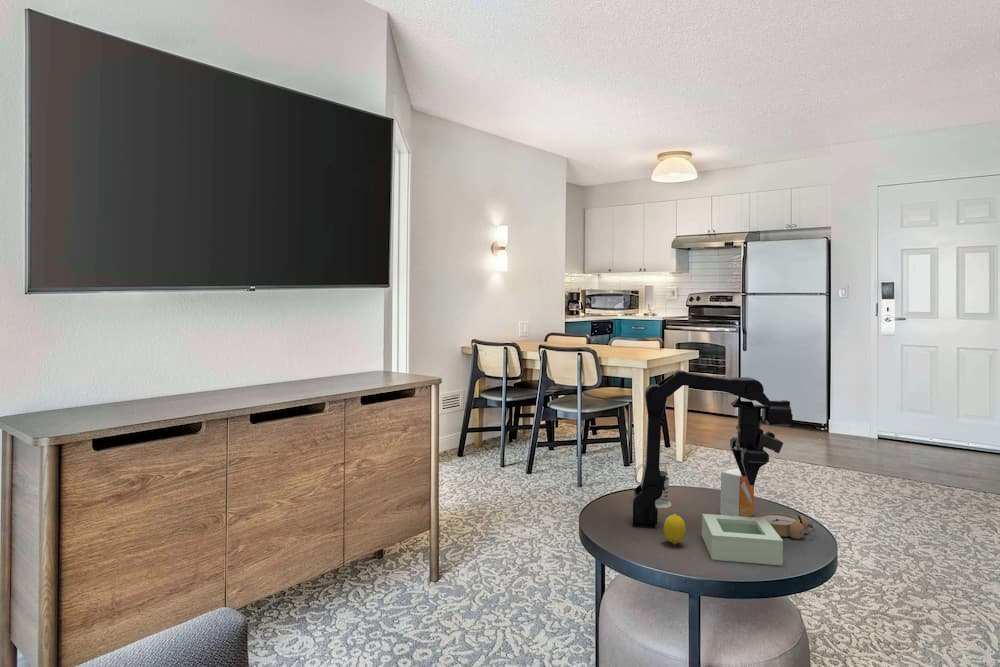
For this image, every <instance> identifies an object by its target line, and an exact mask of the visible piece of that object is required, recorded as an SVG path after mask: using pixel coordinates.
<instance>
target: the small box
mask: <svg viewBox="0 0 1000 667" xmlns="http://www.w3.org/2000/svg"><path fill="white" fill-rule="evenodd" d="M720 474H721V475H720V503H719V504H720V505H719V506H720V509H719V515H728V516H742V517H753V516H754V511H755V510H754V507H755V505H754V503H755V502H754V501H755V484H754V485H749V482H748V479H747V476H742V475H741V473H740V470H739V467H735V468H732V469H727V470H724V471H721V472H720Z"/></svg>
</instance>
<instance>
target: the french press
mask: <svg viewBox="0 0 1000 667" xmlns="http://www.w3.org/2000/svg"><path fill="white" fill-rule="evenodd" d="M643 461H644V462H645V463H646V457H644V458H643ZM670 462H671V461H670V460H669V459H668V458H667V457H666V456H663V455H660V462H659V465H668V464H670ZM645 465H646V464H644V463H641V464H638V466H637V467H636V469H635V470H634V479H635V482H636V484H637V486H639V485H640V483H639V482H638V479H637V478H638V472H639V470H640V469H641V468H642V467H643V469H644V468H645ZM663 471H664V470H663ZM664 473H665V476H666V478H665V483H664V487H665V491H663V493H662V496H661V497H660V498H659V499H657V500H656V501H655V504H656V507H657V509H666V508H670V507H671V506H672V503H671V502H670V500H669V492H670V491H669V489H670V488H669V486H670V483H669V482H670V478H669V477H668V475H669V474H668V472H667V471H664Z"/></svg>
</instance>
